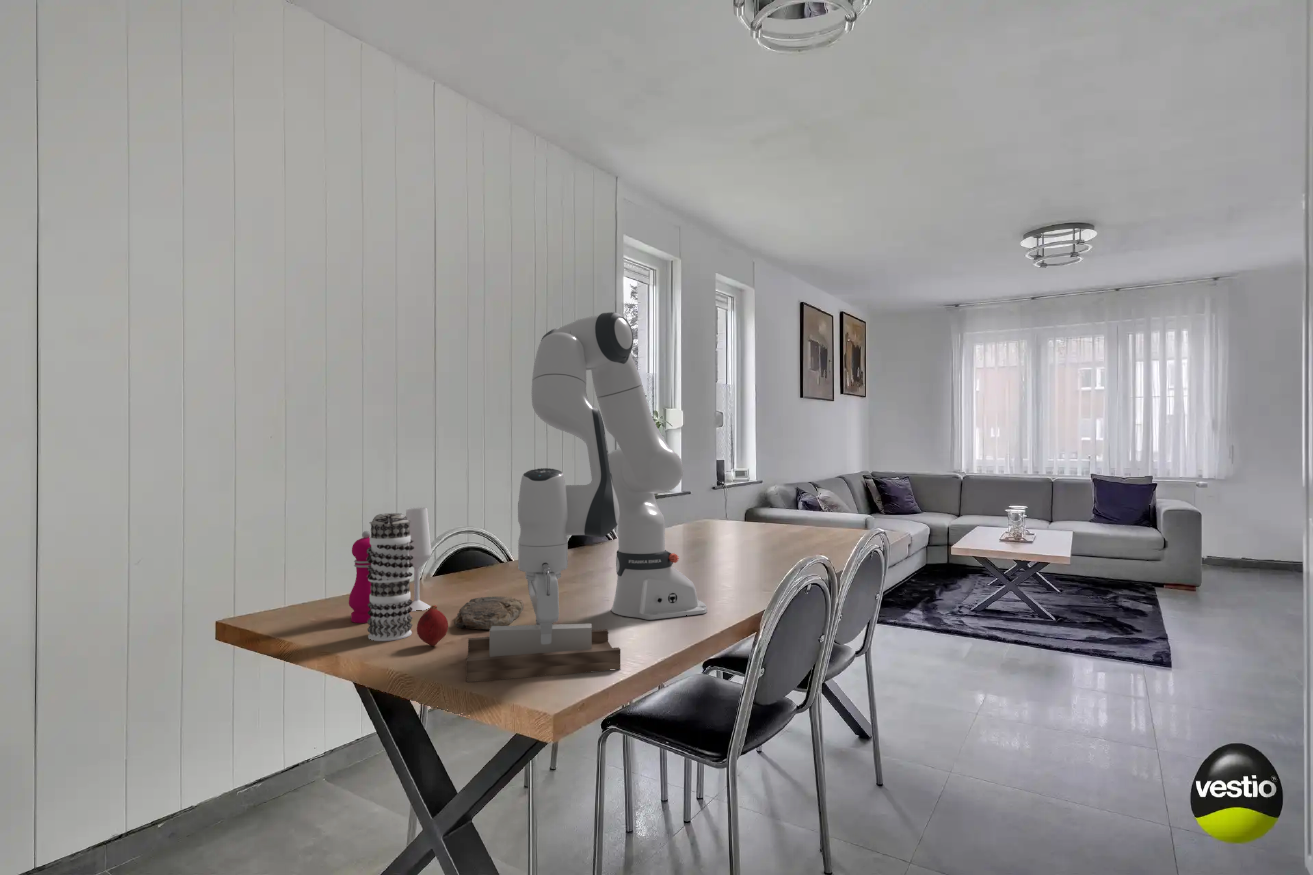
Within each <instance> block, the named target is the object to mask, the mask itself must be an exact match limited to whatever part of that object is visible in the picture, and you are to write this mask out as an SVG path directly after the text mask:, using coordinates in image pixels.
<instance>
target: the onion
mask: <svg viewBox="0 0 1313 875" xmlns="http://www.w3.org/2000/svg"><path fill="white" fill-rule="evenodd" d="M430 606H431V607H430V608H429V609H427V610H425V612H424V613H423V614H422V615H421V616H420V618H419V620H418V622H417V625H416V632H417V633H416V634H417V636H418V637H419V639H420V640H422V642H424V643H426V644H427V645H428V646H431V647H434V646H436V645H437V644H438V643H439V642H440V641H442V640H443V639H444V638H445V636H446V635H447V633H448V629H449V622H448V619H447V617H446V615H445V614H444V613H443V612H441V611H440V610H438V609H437V607H438V605H436V604H431V605H430Z"/></svg>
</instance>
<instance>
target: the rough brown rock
mask: <svg viewBox="0 0 1313 875" xmlns="http://www.w3.org/2000/svg"><path fill="white" fill-rule="evenodd" d="M523 610H524V602H523V600H522V599H517V598H513V597H512V596H484V597H483V596H482V597H476V598H471V599H470V600H469V601H468V602H466V603H465V604H464V605H462V607H460V609H459V611H458V612H457V615H456V617H455V621H454V625H455V626H456V627H457V628H460V629H461V628H462V629H463V628H466V629H468V630H471V629H472V630H474V629H475V630H490V629H491V627H492V626H509V624H512V623H513V622H514V620H516V619H517V618H518V617H519V615H520V614H522V612H523Z"/></svg>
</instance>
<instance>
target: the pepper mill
mask: <svg viewBox="0 0 1313 875" xmlns="http://www.w3.org/2000/svg"><path fill="white" fill-rule="evenodd" d="M370 537H371V531H368V530H364V531H363V532H362V534H361V538H359V539H356V541H355V542H354V543H353V544H352V547H351V554H352V556H353V557H354V558H355V560H354V561H353V562H354V565H353V566H354V567H355V571H356V574H355V576H356V577H355V581H354V585H353V586H352V589H351V591H350V593H349V597H348V605H349V607H350V608H351V609H352V610H353V611H352V612H351V614H350V621H351V622H352V623H355V624H368V623H367V621H368V620H369V619H370V617H371V616H370V615H369V614H368V611H369V610H370V609H371V608H369V607H368V604H369V603H370V594H371V582H370V581H368V578H367V575H369V571H368V570H367V568H368V566H369V565H371V563H369V562H368V561H367V560H366V558H367V557H368V556H369V555H368V553H367V552H366V551H367V549H368V548H370V547H371V544H370Z"/></svg>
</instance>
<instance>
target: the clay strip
mask: <svg viewBox="0 0 1313 875" xmlns="http://www.w3.org/2000/svg"><path fill="white" fill-rule="evenodd" d="M592 628H593V626H592V623H564V624H563V623H562V624H558V623H556V624H553V626H552V633H551V643H550V644H541V641H540V625H536V624H529V625H528V624H523V625H506V626H492V627H491V628H490V629H489V637H490V657H494V656H507V655H521V654H535V653H549V652H563V651H576V650H590V649H592V630H593V629H592Z"/></svg>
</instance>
